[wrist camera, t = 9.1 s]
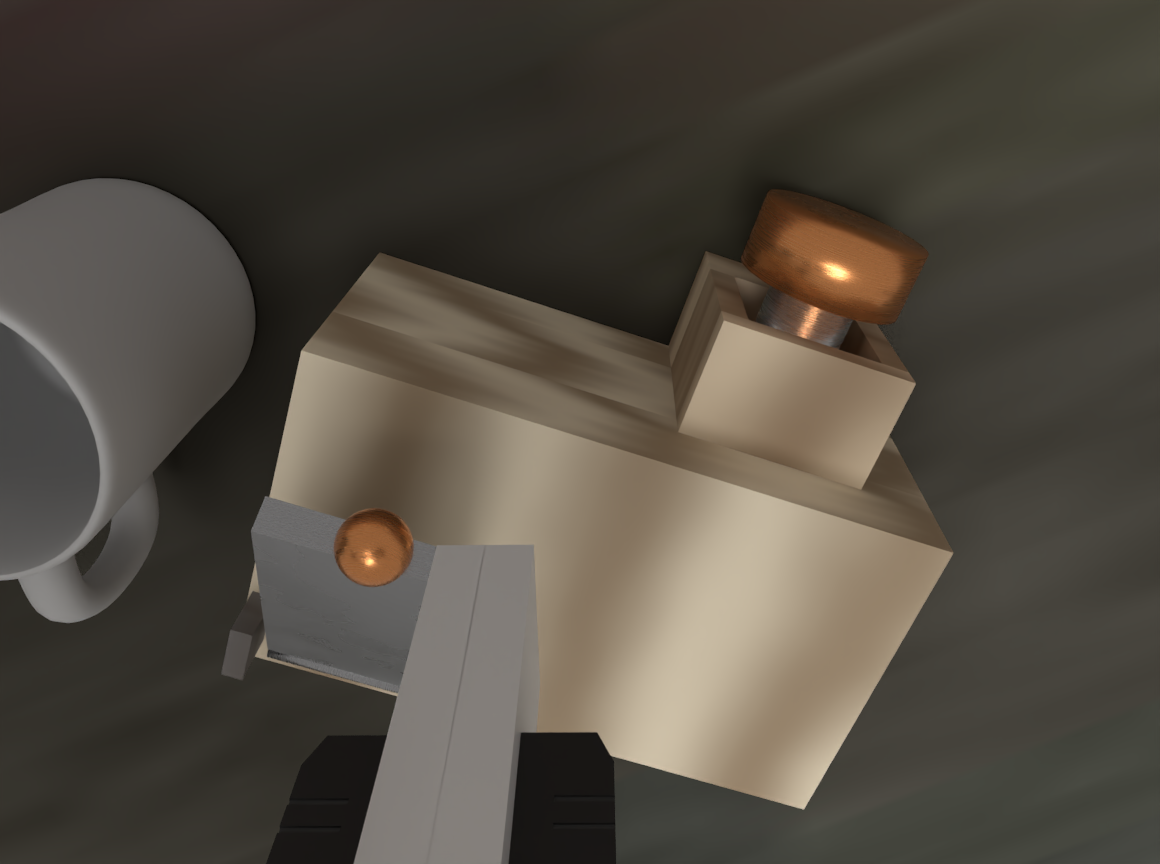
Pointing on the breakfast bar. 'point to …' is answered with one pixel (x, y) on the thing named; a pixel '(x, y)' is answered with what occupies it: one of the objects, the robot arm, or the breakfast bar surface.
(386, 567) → the plate
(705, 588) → the block
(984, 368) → the breakfast bar surface
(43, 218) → the mug
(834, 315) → the pin
